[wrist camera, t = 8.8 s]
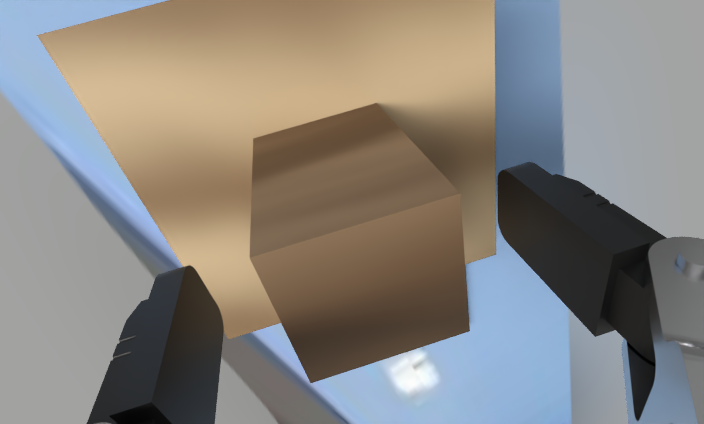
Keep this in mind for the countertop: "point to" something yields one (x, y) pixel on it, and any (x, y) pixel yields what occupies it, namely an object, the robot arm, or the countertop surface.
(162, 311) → the robot arm
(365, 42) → the oak lid
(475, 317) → the countertop surface
